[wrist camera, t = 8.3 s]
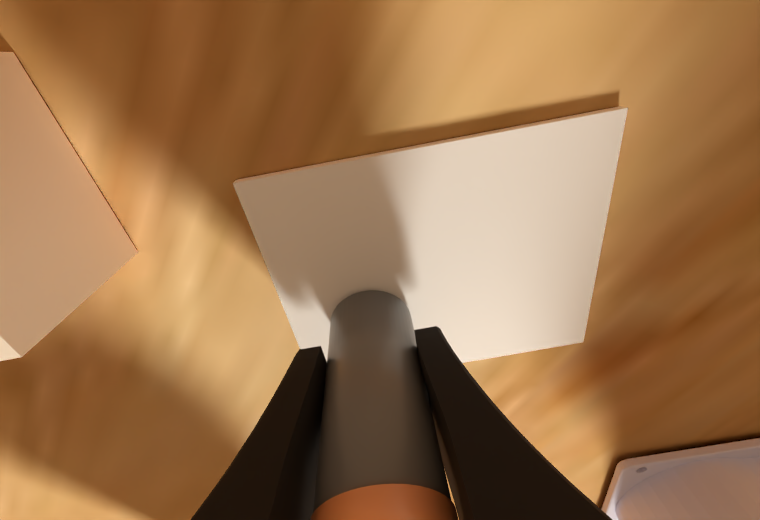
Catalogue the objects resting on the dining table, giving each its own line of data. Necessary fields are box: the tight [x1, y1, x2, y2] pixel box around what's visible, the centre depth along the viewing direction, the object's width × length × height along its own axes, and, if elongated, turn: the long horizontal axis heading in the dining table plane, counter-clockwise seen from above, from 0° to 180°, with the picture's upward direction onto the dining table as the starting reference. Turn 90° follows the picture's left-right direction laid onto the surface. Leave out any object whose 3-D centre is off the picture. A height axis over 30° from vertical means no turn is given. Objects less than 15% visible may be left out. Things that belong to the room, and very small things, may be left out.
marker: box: [310, 290, 458, 520], centre depth 8 cm, size 3×3×7 cm
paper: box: [233, 106, 628, 363], centre depth 11 cm, size 10×8×1 cm
